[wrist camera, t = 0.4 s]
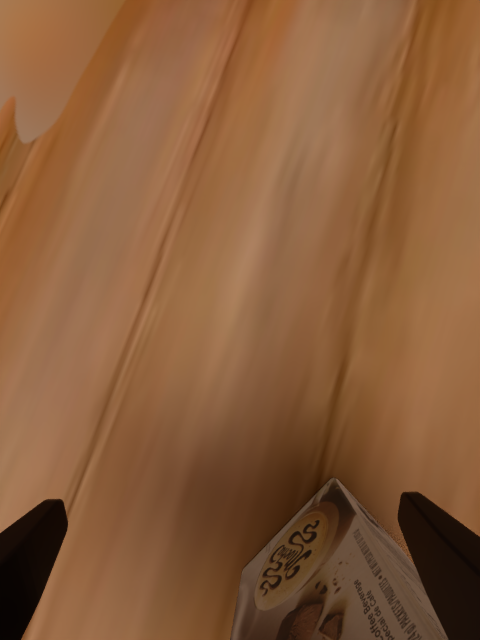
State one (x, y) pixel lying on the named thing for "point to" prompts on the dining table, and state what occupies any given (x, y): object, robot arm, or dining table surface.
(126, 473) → the dining table surface
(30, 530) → the robot arm
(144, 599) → the dining table surface
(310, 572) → the coffee box
